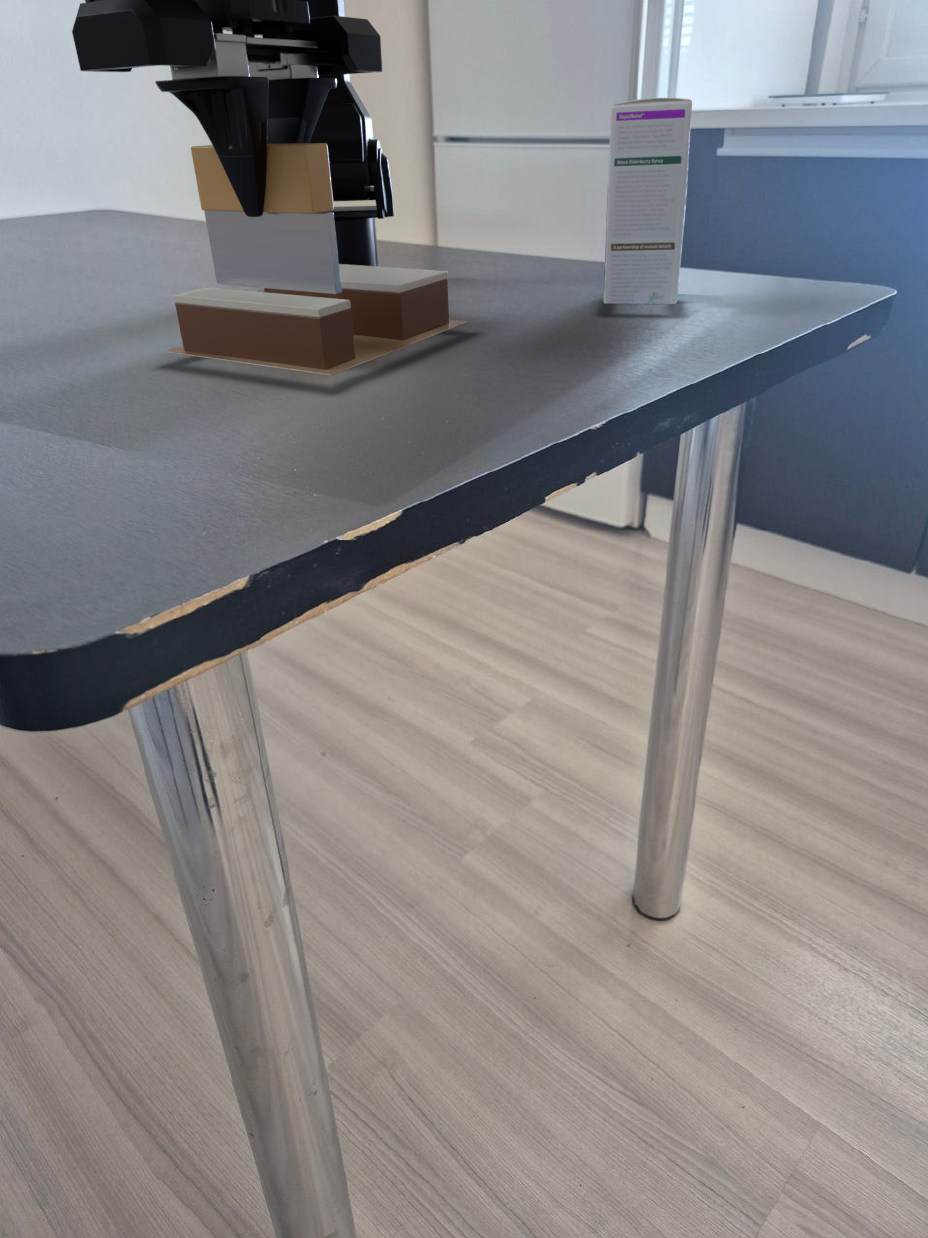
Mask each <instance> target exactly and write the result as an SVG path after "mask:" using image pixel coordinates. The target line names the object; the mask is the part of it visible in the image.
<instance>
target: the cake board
mask: <svg viewBox="0 0 928 1238" xmlns="http://www.w3.org/2000/svg"><path fill="white" fill-rule="evenodd" d="M468 322H469V321H467V320H458V319H449V323H446V324H444V325H441V326H438V327H436V328H433V329H431V330H428V331H425V332H423V333H420V334H417V335H415V336H412V337H409V338H407V339H404V340H398V339H389V338H380V337H372V336H363V335H354V334H353V338H354V349H355V359H352V360H349V361H347V362H344V363H342V364H339V365H336V366H334V367H331V368H328V369H326V370H325V369H318V368H310V367H303V366H296V365H289V364H281V363H274V362H267V361H260V360H252V359H245V358H238V357H231V356H223V355H216V354H209V353H202V352H194V351H187V350H184V347H183V345H182V346H179V347H176V348H172V349H168V350H166V351H165V353H169V354H177V355H183V356H184V355H185V356H192V357H197V358H198V357H199V358H204V359H212V360H218V361H226V362H232V363H240V364H248V365H254V366H262V367H269V368H275V369H282V370H289V371H297V372H304V373H311V374H318V375H325V376H333V375H334V376H335V375H336V374H339V373H342V372H344V371H346V370H349V369H351V368H354V367H357V366H359V365H363V364H364V363H367V362H370V361H372V360H375V359H377V358H380V357H382V356H386V355H387V354H390V353H393V352H395V351H398V350H400V349H403V348H406V347H408V346H411V345H413V344H415V343H419V342H421V341H424V340H426V339H429V338H432V337H433V336H436V335H438V334H441V333H444V332H446V331H449V330H451V329H454V328H456V327H459V326H462V325H464V324H467V323H468Z"/></svg>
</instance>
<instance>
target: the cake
mask: <svg viewBox="0 0 928 1238" xmlns="http://www.w3.org/2000/svg"><path fill="white" fill-rule="evenodd" d="M339 270H340V280H341V290H342V292H341V293H339V294H327V293H315V292H304V291H292V290H280V289H269V288H263V292H267V293H278V294H289V295H300V296H312V297H323V298H334V299H345V300H350V306H351V308H350V309H351V317H352V327H353V334H354V335H363V336H372V337H380V338H389V339H398V340H404V339H407V338H409V337H412V336H415V335H417V334H420V333H423V332H425V331H428V330H431V329H433V328H436V327H438V326H441V325H444V324H446V323H449V320H450V304H449V303H450V302H449V279H448V278H449V273H448V270H435V269H421V268H420V269H419V268H408V267H407V268H406V267H405V268H404V267H390V266H389V267H388V266H379V267H377V266H361V265H346V264H339Z"/></svg>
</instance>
